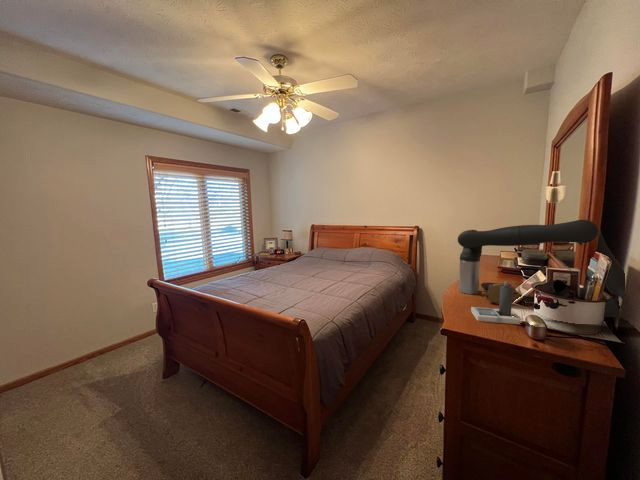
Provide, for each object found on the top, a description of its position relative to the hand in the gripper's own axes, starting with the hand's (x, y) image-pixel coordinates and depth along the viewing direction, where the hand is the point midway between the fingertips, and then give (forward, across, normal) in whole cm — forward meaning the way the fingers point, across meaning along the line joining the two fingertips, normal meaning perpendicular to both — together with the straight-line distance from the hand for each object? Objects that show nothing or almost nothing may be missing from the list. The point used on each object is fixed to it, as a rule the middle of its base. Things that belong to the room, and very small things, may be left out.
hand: (528, 302), depth 104 cm
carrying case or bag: (-3, -40, +8) cm, 41 cm away
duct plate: (+11, 0, +8) cm, 13 cm away
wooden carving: (+3, -18, +8) cm, 20 cm away
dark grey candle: (+8, 0, +8) cm, 11 cm away
